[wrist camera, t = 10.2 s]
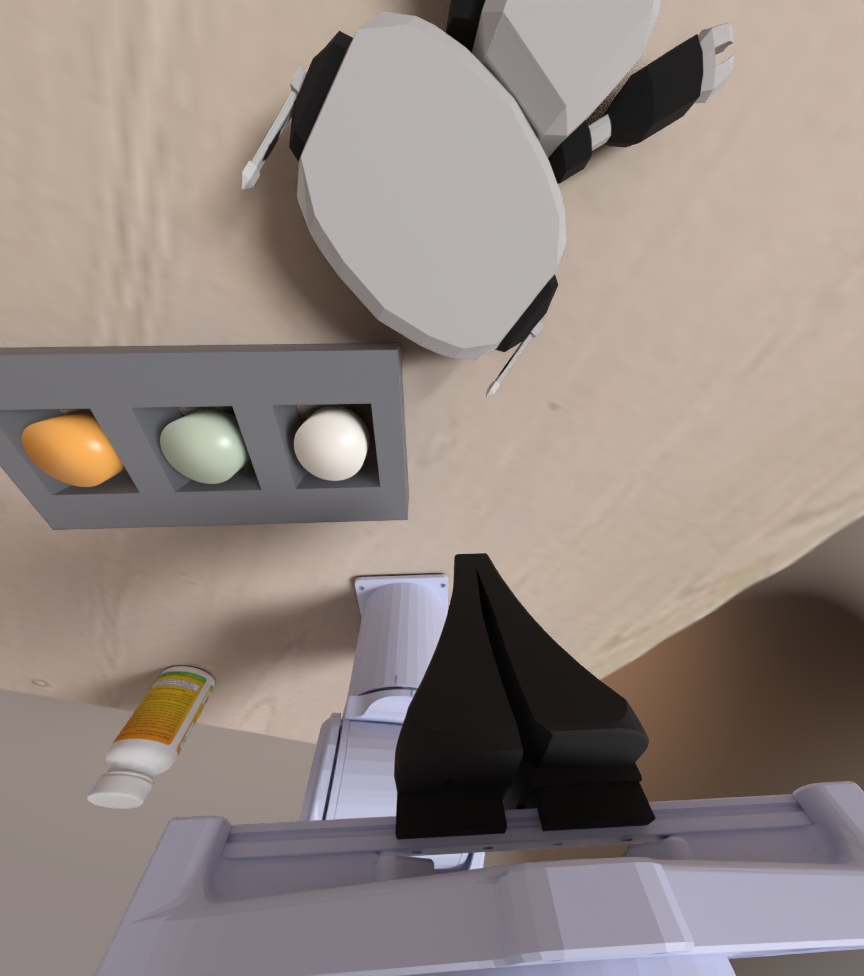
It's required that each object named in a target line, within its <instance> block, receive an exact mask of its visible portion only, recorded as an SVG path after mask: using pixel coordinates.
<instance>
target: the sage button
mask: <svg viewBox="0 0 864 976" xmlns="http://www.w3.org/2000/svg"><path fill="white" fill-rule="evenodd" d="M160 445H161V449H162V452H163V454H164V456H165V458H166V459H167V461H168V462H169V463H170V464H171V465H172V466H173V467H174V468H175V469H176V470H177V471H178V472H180V473H181V474H183V475H184V476H186V477H188V478H190V479H192V480H194V481H197V482H201V483H207V484H217V483H222V482H225V481H227V480H228V479H230V478H231V477H232V476H233V475H234V474H235V473H236V472H237V471H238V470H240V469H241V468H242V467H243V466H244V465H245V464H246V463H247V462H248V461H249V460H250V459H251V458H250V456H249V453H248V450H247V447H246V444H245V441H244V438H243V435H242V433H241V430H240V427H239V424H238V421H237V418H236V417H234V416H233V415H231V414H229V413H227V412H225V411H222V410H219V409H214V408H203V409H199V410H196V411H194V412H192V413H190V414H188V415H186V416H184V417H182V418H180V419H178V420H176V421H173V422H171V423H170V424H168V425H167V426H166V427H165V428H164V429H163V431H162V433H161V437H160Z"/></svg>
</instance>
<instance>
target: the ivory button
mask: <svg viewBox="0 0 864 976" xmlns="http://www.w3.org/2000/svg"><path fill="white" fill-rule="evenodd" d="M369 444H370V435H369V431H368V428H367V426H366V424H365V423H364V421H363V420H362V419H361V418H360V417H359V416H358V415H357V414H356V413H354V412H353V411H351V410H349V409H347V408H344V407H340V406H327V407H323V408H320V409H319V410H317V411H315V412H314V413H313V414H312V415H311V416H310V417H309V418H308V419H307V420H306V421H305V422H304V423H303V424H302V426H301V427H300V428H299V429H298V431H297V432H296V435H295V438H294V450H295V454H296V456H297V458H298V460H299V462H300V463H301V465H302V466H303V467H304V468H305V469H306V470H307V471H308V472H310V473H311V474H313V475H314V476H317V477H319V478H321V479H325V480H330V481H340V480H345V479H348V478H350V477H352V476H353V475H355V474H356V473H357V472H358V471H359V470H360V468H361V467H362V465H363V462H364V460H365V457H366V454H367V451H368V448H369Z"/></svg>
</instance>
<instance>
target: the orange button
mask: <svg viewBox="0 0 864 976" xmlns="http://www.w3.org/2000/svg"><path fill="white" fill-rule="evenodd" d="M22 445H23V447H24V450H25V452H26V453H27V455H28V456H29V458H30V459H31V460H32V461H33V462H34V463H35V464H36V465H37V466H38V467H39V468H40V469H41V470H43V471H44V472H45V473H47V474H48V475H50V476H51V477H53V478H55V479H57V480H59V481H61V482H64V483H67V484H70V485H74V486H79V487H92V486H96V485H99V484H101V483H102V482H104V481H106V480H108V479H109V478H111V477H113V476H115V475H117V474H118V473H120V472H122V471H124V470H125V469H126V468H125V467H124V465H123V463H122V462H121V460H120V458H119V457H118V455H117V453H116V452H115V450H114V448H113V447H112V445H111V443H110V442H109V440H108V438H107V436H106V435H105V433H104V431H103V430H102V428H101V426H100V425H99V423H98V421H97V420H96V418H95V416H94V415H93V413H92V412H90V411H82V410H79V411H72V412H69V413H66V414H63V415H59V416H56V417H53V418H50V419H47V420H43V421H40V422H37V423H34V424H31V425H29V426H28V427H26V428H25V430H24V431H23V433H22Z"/></svg>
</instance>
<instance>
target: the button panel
mask: <svg viewBox="0 0 864 976" xmlns="http://www.w3.org/2000/svg"><path fill="white" fill-rule="evenodd" d="M370 403H371V407H372V416H373V425H374V434H375V443H376V452H377V461H378V465H362V467H361V468H360V470H359V471H358V472H357V473H356V474H355V475H353V476H352V477H350V478H348V479H345V480H340V481H330V480H325V479H321V478H319V477H317V476H314V475H313V474H311V473H310V472H308V471H307V470H306V469H305V468H304V467H303V466H302V465H301V463H300V462H299V460H298V458H297V456H296V454H295V450H294V438H295V435H296V432H297V431H298V429H299V428H300V427H301V422H300V418H299V414H298V409H297V405H314V404H370ZM202 406H232V407H233V410H234V413H235V415H236V418H237V421H238V424H239V427H240V430H241V433H242V435H243V438H244V441H245V444H246V447H247V450H248V453H249V456H250V458H251V461H252V464H253V467H251V468H241V469H240V470H238V471H237V472H236V473H235V474H234V475H233V476H232V477H231V478H230V479H228V480H227V481H225V482H222V483H217V484H207V483H201V482H197V481H194V480H192V479H190V478H188V477H186V476H184V475H183V474H181V473H180V472H178V471H177V470H176V469H175V468H174V467H173V466H172V465H171V464H170V463H169V462H168V461H167V459H166V458H165V456H164V454H163V452H162V449H161V445H160V437H161V433H162V431H163V429H164V428H165V427H166V426H167V425H168V424H170V423H171V422H173V421H176V420H178V419H180V418H182V417H183V416H182V414H181V412H180V409H179V407H202ZM89 408H90V410H91V411H92V413H93V415H94V416H95V418H96V420H97V421H98V423H99V425H100V426H101V428H102V430H103V431H104V433H105V435H106V436H107V438H108V440H109V442H110V443H111V445H112V447H113V448H114V450H115V452H116V453H117V455H118V457H119V458H120V460H121V462H122V463H123V465H124V467H125V468H126V470H124V471H122V472H120V473H118V474H117V475H115V476H113V477H111V478H109V479H108V480H106V481H104V482H102V483H101V484H99V485H96V486H92V487H79V486H74V485H70V484H67V483H64V482H61V481H59V480H57V479H55V478H53V477H51V476H50V475H48V474H47V473H45V472H44V471H43V470H41V469H40V468H39V467H38V466H37V465H36V464H35V463H34V462H33V461H32V460H31V459H30V458H29V456H28V455H27V453H26V452H25V450H24V447H23V445H22V433H23V431H24V430H25V428H26V427H28V426H29V425H31V424H34V423H37V422H40V421H43V420H47V419H50V418H53V417H56V416H59V415H62V414H61V413H60V411H59V410H58V409H89ZM0 466H1V468H2V469H3V470H4V471H5V472H6V474H7V475H8V476H9V477H10V478H11V480H12V481H13V482H14V483H15V484H16V486H17V487H18V488H19V489H20V490H21V492H22V493H23V494H24V495H25V496H26V498H27V499H28V500H29V501H30V502H31V504H32V505H33V506H34V507H35V509H36V510H37V511H38V512H39V513H40V515H41V516H42V517H43V518H44V519H45V521H46V522H47V523H48V524H49V525H50V527H51V528H52V529H53V530H66V529H101V528H137V527H172V526H207V525H243V524H278V523H314V522H349V521H384V520H408V502H409V488H408V470H407V452H406V434H405V416H404V398H403V380H402V362H401V344H400V343H354V344H274V345H193V346H113V347H32V348H0Z"/></svg>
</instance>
